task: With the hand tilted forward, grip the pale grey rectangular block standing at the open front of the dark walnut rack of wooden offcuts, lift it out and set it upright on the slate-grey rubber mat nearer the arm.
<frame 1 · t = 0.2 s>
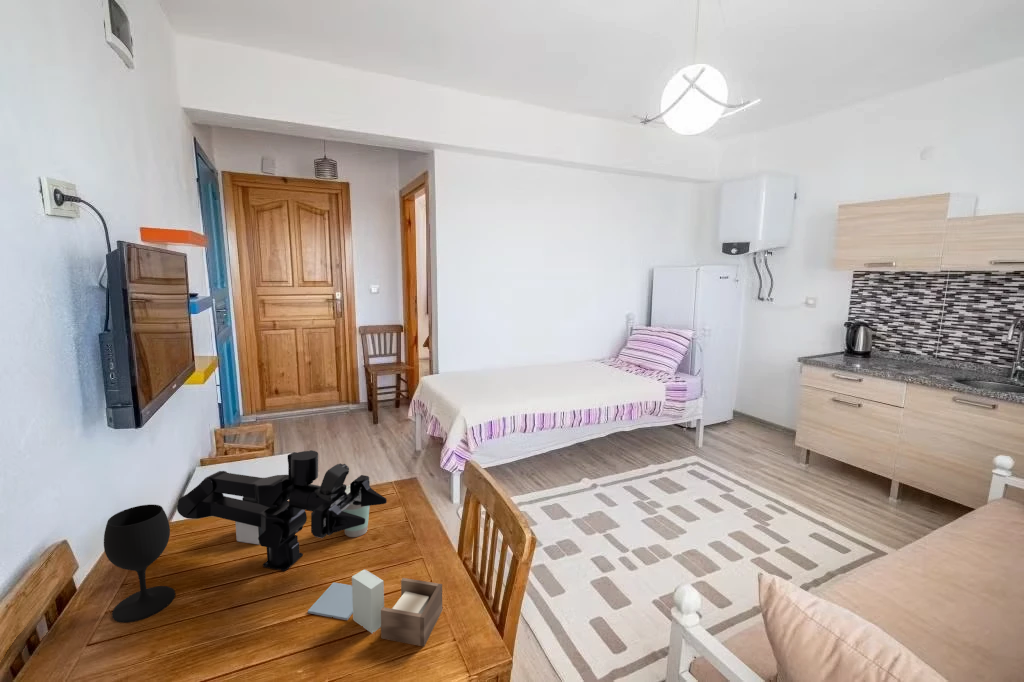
hand: (376, 510, 101), 17 cm above the table, tool horizontal, fingers open, 9 cm apart
medicine bottle: (258, 536, 119), on the table
rack: (411, 623, 90), on the table
pale grey rectangular block: (368, 622, 90), on the table
offcut stack: (411, 624, 90), resting in rack
coffee cup: (356, 531, 122), on the table
mat: (340, 601, 96), on the table
wine glass: (144, 605, 94), on the table
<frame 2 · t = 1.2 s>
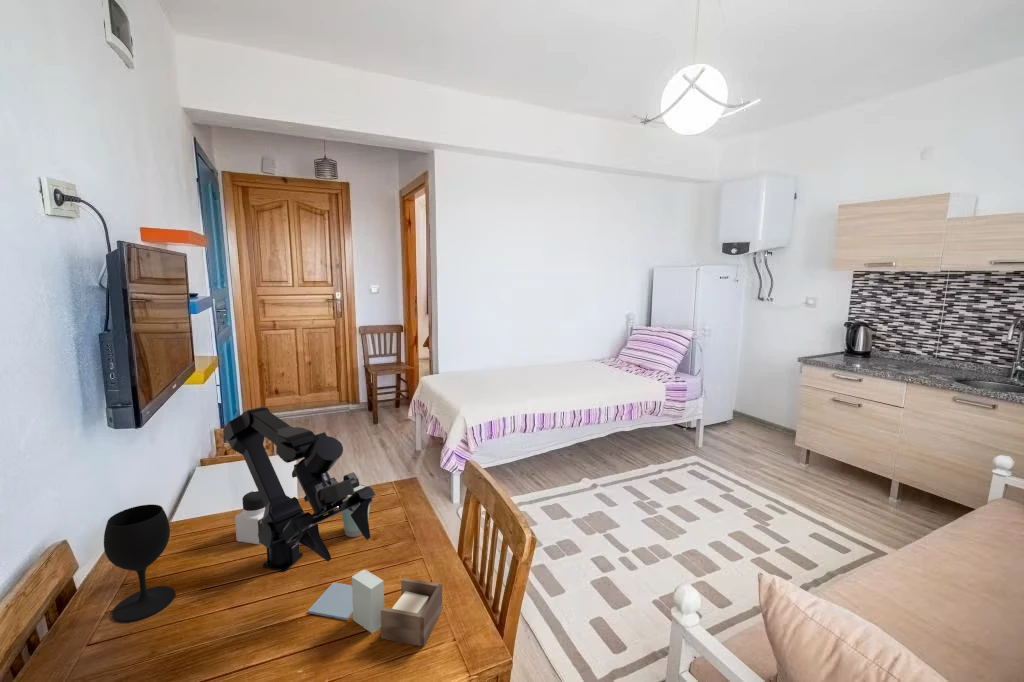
hand: (350, 549, 92), 14 cm above the table, tool tilted 45°, fingers open, 9 cm apart
nothing on the table moved.
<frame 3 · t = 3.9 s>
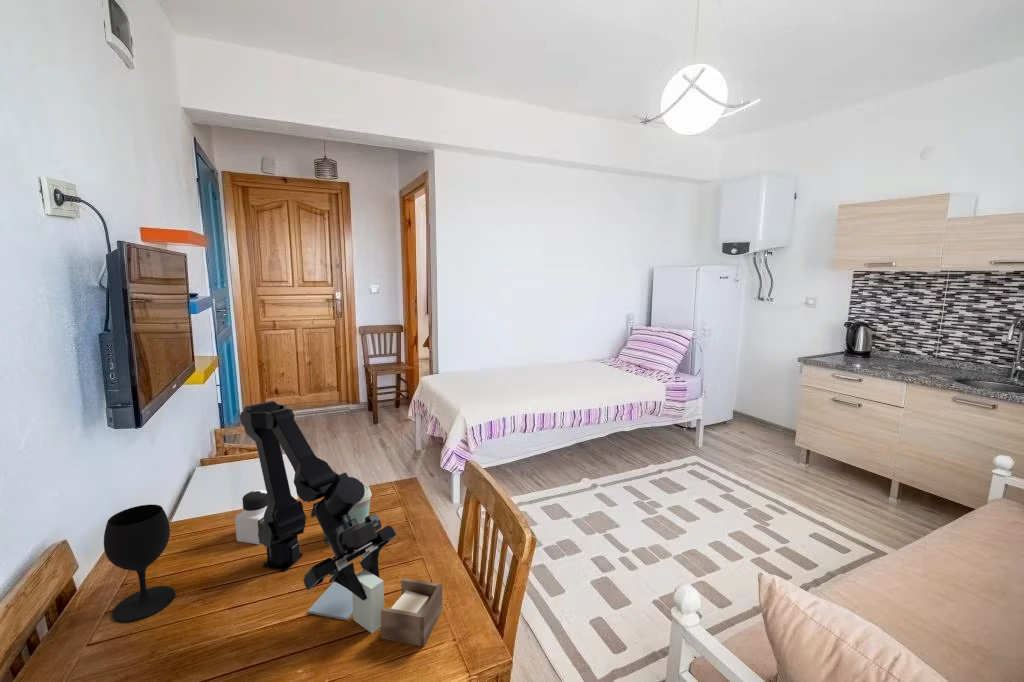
hand: (372, 594, 89), 7 cm above the table, tool tilted 45°, fingers closed on pale grey rectangular block, 3 cm apart
pale grey rectangular block: (368, 621, 90), on the table, touching gripper
everything else where it was.
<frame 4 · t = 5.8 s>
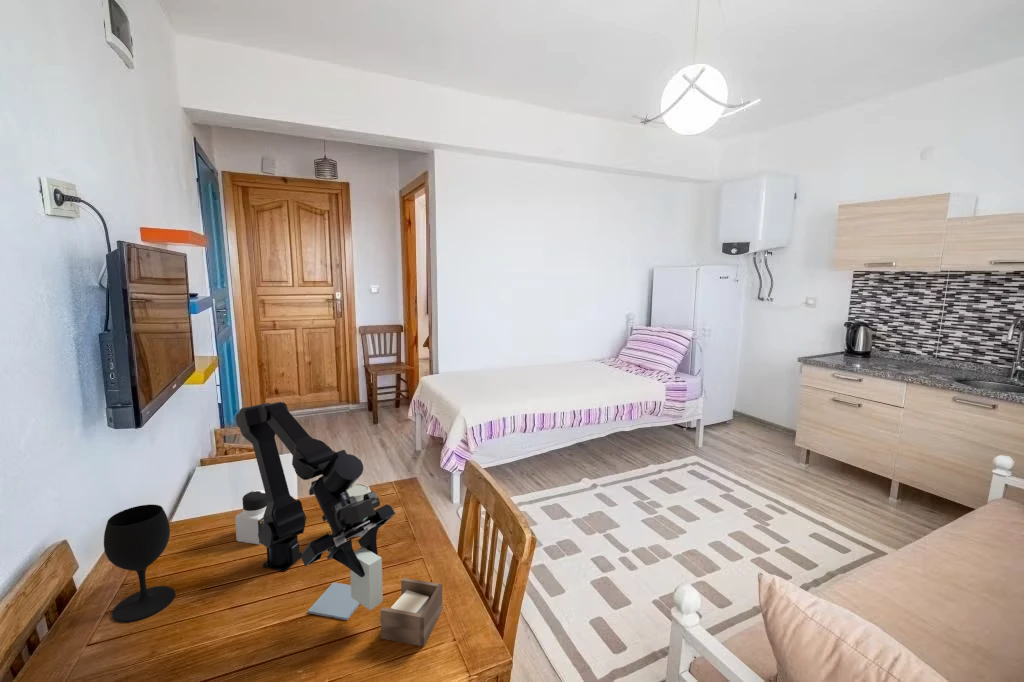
hand: (370, 571, 88), 11 cm above the table, tool tilted 45°, fingers closed on pale grey rectangular block, 3 cm apart
pale grey rectangular block: (366, 599, 90), point 5 cm above the table, touching gripper
everything else where it was.
when the fingers open (8 cm above the table, at t = 7.7 s): pale grey rectangular block stays where it is, resting on mat.
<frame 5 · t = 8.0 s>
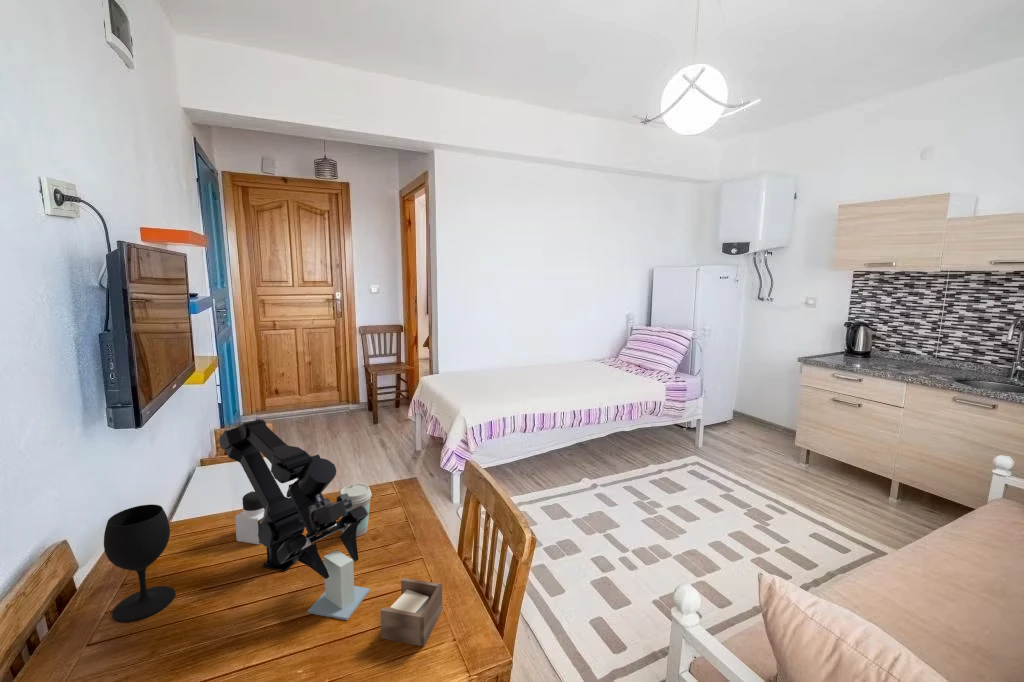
hand: (342, 569, 94), 8 cm above the table, tool tilted 45°, fingers open, 7 cm apart
pale grey rectangular block: (339, 599, 96), resting on mat
everything else where it was.
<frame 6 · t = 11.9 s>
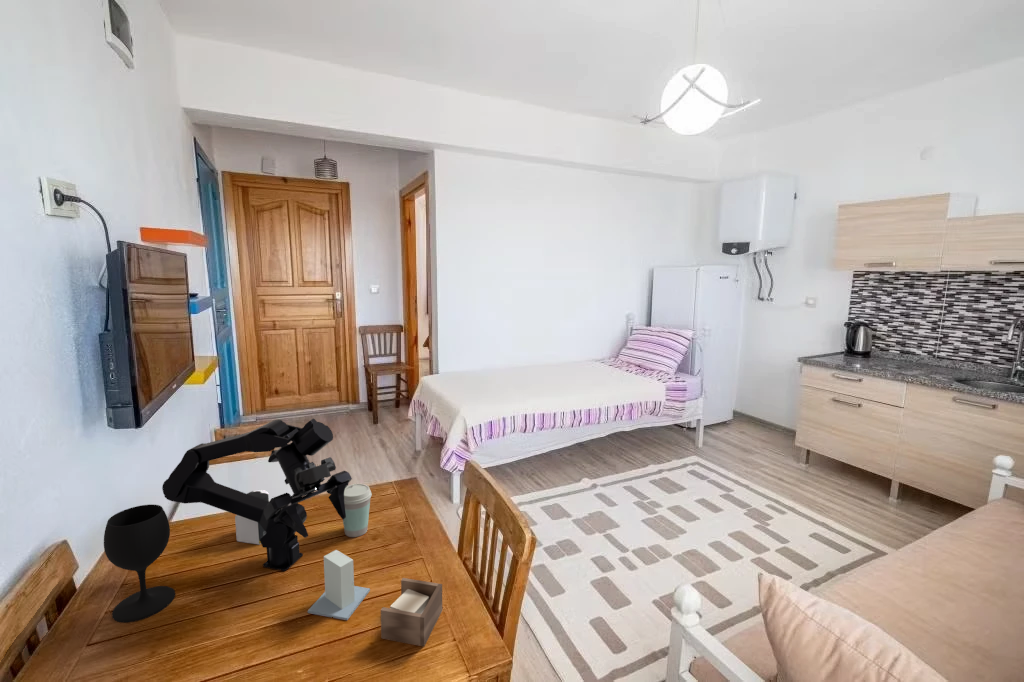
hand: (326, 527, 100), 14 cm above the table, tool tilted 45°, fingers open, 9 cm apart
nothing on the table moved.
at the end: pale grey rectangular block 0.0 cm from the target spot, point 0.5 cm above the table; pale grey rectangular block tilted 0°; the gripper is holding nothing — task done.
